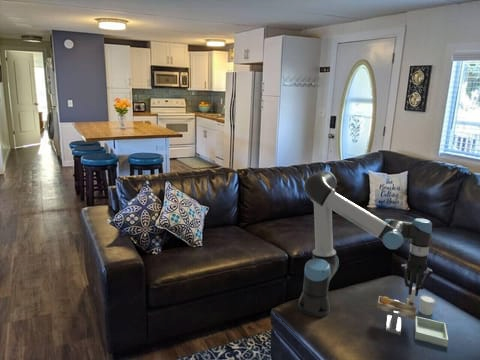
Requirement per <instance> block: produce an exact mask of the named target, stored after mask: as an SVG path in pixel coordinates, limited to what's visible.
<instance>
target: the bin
mask: <svg viewBox="0 0 480 360" xmlns="http://www.w3.org/2000/svg"><path fill="white" fill-rule="evenodd" d="M413 322H414V323H413V325H414V339H415V340H418V341H420V342H425V343H429V344H433V345H436V346H440V347H444V348H448V345H449V337H448V330H447V326H446V325H447V324H446V322H441V321H439V320H438V321H437V320H434V319H429V318H425V317H420V316H418V315H416V319H415V320H414V321H413Z"/></svg>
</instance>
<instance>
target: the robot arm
mask: <svg viewBox="0 0 480 360" xmlns="http://www.w3.org/2000/svg"><path fill="white" fill-rule="evenodd" d="M337 182H338V181H337V178H336V176H335V175H334V174H333V173H332V172H331V171H328V170H319V171H317V172H314V173H313V174H312V175H309V176H308V177H307V178H306V179H305V181H304V185H303V189H304V194H306V196H307V197H308V198H309V199H310V201H311V202H312V203H313V216H314V217H313V218H314V219H313V220H314V242H315V245H314V246H315V248H314V249H313V250H312V259H309V260H308V261H307V262H306V263H305V264H304V270H303V271H304V274H303V285H302V286H303V287H302V292H301V294H300V297H299V299H298V302H297V308H298V310H299V311H300V312H301V313H302V314H304V315H306V316H309V317H314V318H321V317H322V318H323V317H326V316H327V315H328V314H329V313H330V309H331V305H330V301H329V296H328V294H329V287H330V286H329V285H330V282H331V280H332V278H333V277H334V275H335V274H336V273H337V272H338V269H339V265H340V264H339V263H340V262H339V261H340V260H339V257H338V255H337V250H336V249H335V248H334V242H333V241H334V240H333V239H334V237H333V235H334V234H333V212H335V213H336V214H338V215H339V216H341V217H343V218H344V219H346V220H347V221H349V222H351V223H353V224H354V225H356V226H357V227H359V228H360V229H363V230H364V231H366V232H367V233H369V234H371V235H372V236H373V237H376V238H377V239H379V240H381V242H382V244H383V245H384V246H385V247H386V248H388V249H389V250H397V249H399V248H401V246H402V244H403V243H404V239H406V240H410V245H409V253H408V260H407V262H406V263H405V264H403V263H402V264H400V265H401V268H400V269H401V270H402V272H403V278H404V279H403V280H404V285H405V287H407V288H408V295H409V296H410V297H409V298H410V302H411V303H414V304H415V298H416V297H418V295H419V291H420V290H424V288H425V286H426V283H427V282H428V280H429V278H430V276H431V275H432V274H433V269H432V268H429V267H428V259H429V257H428V255H429V251H430V243H431V238H432V232H433V231H432V229H433V223H432V221H431V220H429V219H426V218H419V217H417V218H415V219H413V222H412V221H403V220H398V219H394V218H386V219H384V220H382V219H381V218H380V217H377V216H376V215H374V214H372V213H371V212H370V211H368V210H366V209H365V208H362V207H361V206H359V205H358V204H356V203H354V202H353V201H351V200H349V199H347V198H346V197H344V196H342V195H341V194H339V193H337V191H336V188H337V184H338V183H337ZM407 269H409V271H410V278H409V280H408V273H407ZM424 272H425V274H424V277H423V278H422V280H421V276H422V274H423V273H424ZM415 274H416V282H415V286H414V281H415V280H414V278H415ZM420 282H421V283H420Z"/></svg>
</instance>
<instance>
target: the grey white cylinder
mask: <svg viewBox="0 0 480 360" xmlns="http://www.w3.org/2000/svg"><path fill="white" fill-rule="evenodd" d="M436 301H437V300H436V299H435V298H434V297H431V296H430V295H424V294H423V295H420V296H419V306H418V307H419V308H418V309H419V312H420V313H421V314H423V315H425V316H432V315H433V311H434V308H435V304H436Z"/></svg>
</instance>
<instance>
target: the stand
mask: <svg viewBox="0 0 480 360" xmlns="http://www.w3.org/2000/svg"><path fill="white" fill-rule="evenodd" d="M394 300H395V301H398V302H400V300H397V299H394ZM386 315H387V316H386V327H385V332H388V333H391V334H395V335H398V336H401V334H402V318H401V317H400V315H399V312H397V311H394V313H392V315H391V314H386Z"/></svg>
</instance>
